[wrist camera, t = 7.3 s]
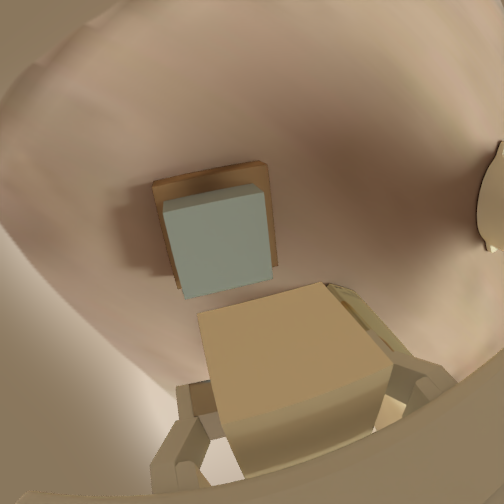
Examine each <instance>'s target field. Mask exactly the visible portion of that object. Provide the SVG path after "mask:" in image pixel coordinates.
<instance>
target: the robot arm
mask: <svg viewBox="0 0 504 504" xmlns="http://www.w3.org/2000/svg"><path fill="white" fill-rule="evenodd" d="M477 225H478V230H479V233H480V235H481V236H482V238H483V239H484V240H485V242H486V247H487V251H489V252H491V253H494V252H495V251H496V250H498V249H499V250H501V251H503V252H504V141H502V142H501V143H500V145H499V148H498V151H497V154H496V157H495V159H494V160H493V161H492V163H491V164H490V166H489V168H488V170H487V172H486V174H485V176H484V179H483V182H482V185H481V189H480V194H479V199H478V206H477ZM366 332H367V334H368V335H369V336H370V337H371V338H372V339H373V340H374V342H375V343H376V344H377V345H378V346H379V347H380V349H381V350H382V351H383V352H384V353H385V354H386V355H387V357H388V358H389V359H390V360H391V361H392V362H393V364H394V365H393V369H392V372H391V376H390V379H389V382H388V386H387V389H386V392H385V394H386V395H388V396H390V397H392V398H394V399H396V400H398V401H400V402H402V403H404V404H406V407H405V410H404V412H403V415H402V418H401V419H399V420H398V421H396V422H394V423H392V424H390V425H388V426H386V427H384V428H382V429H380V430H378V431H376V432H374V433H372V434H370V435H368V436H366V437H364V438H362V439H359V440H357V441H355V442H353V443H350V444H348V445H346V446H343V447H341V448H339V449H336V450H334V451H331V452H329V453H326V454H324V455H321V456H318V457H316V458H313V459H310V460H308V461H305V462H302V463H299V464H296V465H293V466H290V467H287V468H284V469H280V470H277V471H274V472H270V473H267V474H263V475H259V476H256V477H252V478H248V479H244V480H240V481H235V482H231V483H226V484H221V485H216V486H211V485H210V483H209V482H208V481H207V480H206V478H205V477H204V476H203V474H202V473H201V472H200V467H201V465H202V462H203V459H204V457H205V454H206V452H207V449H208V447H209V444H210V440H213V439H218V438H222V437H226V435H225V433H224V430H223V428H222V426H221V422H220V418H219V414H218V410H217V406H216V402H215V398H214V393H213V389H212V385H211V380H206V381H201V382H196V383H191V384H186V385H181V386H176V397H177V405H178V413H179V420H177V421H175V423H174V425H173V426H172V429H171V430H170V432H169V433H168V435H167V437H166V438H165V440H164V442H163V444H162V445H161V447H160V449H159V450H158V452H157V454H156V455H155V457H154V459H153V461H152V462H151V464H150V475H151V485H152V494H149V495H135V496H134V495H133V496H82V495H67V494H55V493H47V492H40V491H28V492H26V493H25V494H24V495H22V496H21V497H20V499H19V500H18V501H17V502H16V503H15V504H504V348H503V349H502V350H500V351H499V352H498V353H497V354H496V355H494V356H493V357H492V358H491V359H489V360H488V361H487V362H486V363H484V364H483V365H482V366H481V367H479V368H478V369H477V370H475V371H474V372H473V373H471V374H470V375H469V376H467V377H466V378H465V379H463V380H462V381H460V382H459V383H458V382H457V381H456V380H455V379H454V378H453V377H452V376H451V375H450V374H449V373H448V372H447V371H446V370H445V369H444V368H443V367H442V366H441V365H438V364H435V363H432V362H428V361H425V360H422V359H419V358H416V357H413V356H410V355H407V354H404V353H401V352H398V351H394V352H392V350H391V349H390V348H389V347H388V346H387V345H386V344H385V343H384V342H383V341H382V339H381V338H380V337H379V336H378V335H377V334H376V333H375V332H374V331H373V330H371V329H370V330H367V331H366Z"/></svg>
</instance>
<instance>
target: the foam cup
mask: <svg viewBox="0 0 504 504" xmlns="http://www.w3.org/2000/svg"><path fill="white" fill-rule="evenodd" d="M405 407H406V404H404V403H402V402H400V401H398V400H396V399H394V398H392V397H390V396H388V395H386V394H385V396H384V399H383V402H382V405H381V408H380V411H379V414H378V417H377V419H376V422H375V425H374V426H375V428H376V430H377V431H378V430H380V429H382V428H384V427H386V426H388V425H390V424H392V423H394V422H396V421H398V420H399V419H401V418H402V415H403V412H404V410H405Z"/></svg>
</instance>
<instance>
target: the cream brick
mask: <svg viewBox="0 0 504 504" xmlns="http://www.w3.org/2000/svg"><path fill="white" fill-rule="evenodd" d="M197 317H198V322H199V328H200V333H201V338H202V343H203V348H204V352H205V357H206V362H207V367H208V371H209V376H210V380H211V385H212V389H213V393H214V398H215V402H216V406H217V410H218V414H219V418H220V422H221V426H222V428H223V430H224V433H225V435H226V437H227V440H228V442H229V444H230V447H231V449H232V451H233V453H234V456H235V458H236V460H237V462H238V465H239V467H240V469H241V471H242V473H243V475H244V477H245V479H248V478H252V477H256V476H259V475H263V474H267V473H270V472H274V471H277V470H280V469H284V468H287V467H290V466H293V465H296V464H299V463H302V462H305V461H308V460H310V459H313V458H316V457H318V456H321V455H324V454H326V453H329V452H331V451H334V450H336V449H339V448H341V447H343V446H346V445H348V444H350V443H353V442H355V441H357V440H359V439H362V438H364V437H366V436H368V435H370V434H371V433H372V430H373V428H374V425H375V422H376V419H377V417H378V414H379V411H380V408H381V405H382V402H383V399H384V396H385V392H386V389H387V386H388V382H389V379H390V376H391V372H392V369H393V365H394V364H393V362H392V361H391V360H390V359H389V358H388V357H387V355H386V354H385V353H384V352H383V351H382V350H381V349H380V347H379V346H378V345H377V344H376V343H375V342H374V340H373V339H372V338H371V337H370V336H369V335H368V334H367V332H366V331H365V330H364V329H363V328H362V327H361V326H360V324H359V323H358V322H357V321H356V320H355V319H354V318H353V317H352V315H351V314H350V313H349V312H348V311H347V310H346V309H345V308H344V306H343V305H342V304H341V303H340V302H339V301H338V300H337V299H336V297H335V296H334V295H333V294H332V293H331V292H330V291H329V290H328V289H327V287H326V286H325V285H324V284H323V283H322V282H318V283H314V284H311V285H307V286H304V287H300V288H296V289H293V290H289V291H285V292H282V293H278V294H274V295H270V296H267V297H263V298H259V299H255V300H251V301H247V302H243V303H239V304H235V305H231V306H227V307H223V308H219V309H215V310H211V311H206V312H202V313H198V314H197Z"/></svg>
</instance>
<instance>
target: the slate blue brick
mask: <svg viewBox="0 0 504 504" xmlns="http://www.w3.org/2000/svg"><path fill="white" fill-rule="evenodd" d="M163 216H164V221H165V225H166V229H167V233H168V237H169V241H170V245H171V249H172V253H173V257H174V261H175V265H176V269H177V272H178V276H179V280H180V283H181V287H182V291H183V294H184V298H185V300H186V299H190V298H194V297H199V296H203V295H208V294H212V293H216V292H221V291H225V290H229V289H233V288H237V287H242V286H246V285H250V284H254V283H258V282H262V281H266V280H270V279H273V273H272V263H271V253H270V244H269V234H268V225H267V216H266V207H265V198H264V192H263V191H262V190H261V189H259V188H258V187H257V186H256V185H254V184H253V183H251V184H246V185H240V186H235V187H230V188H224V189H219V190H214V191H209V192H204V193H200V194H195V195H190V196H185V197H181V198H176V199H172V200H167V201H164V202H163Z"/></svg>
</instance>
